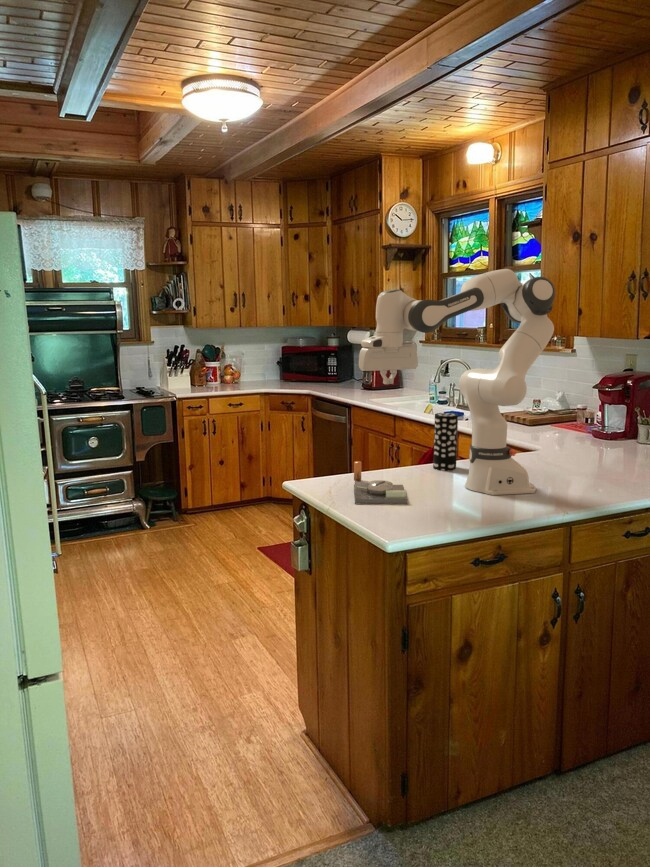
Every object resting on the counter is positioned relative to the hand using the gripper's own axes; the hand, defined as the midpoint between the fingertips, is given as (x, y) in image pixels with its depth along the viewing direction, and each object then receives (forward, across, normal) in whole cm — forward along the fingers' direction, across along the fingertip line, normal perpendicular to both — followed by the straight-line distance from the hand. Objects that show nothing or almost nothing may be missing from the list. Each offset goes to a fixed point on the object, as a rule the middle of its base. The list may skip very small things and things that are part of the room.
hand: (388, 383), depth 227 cm
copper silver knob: (+33, +10, +8) cm, 35 cm away
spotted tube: (+34, -32, -13) cm, 48 cm away
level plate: (+34, +8, +10) cm, 37 cm away
